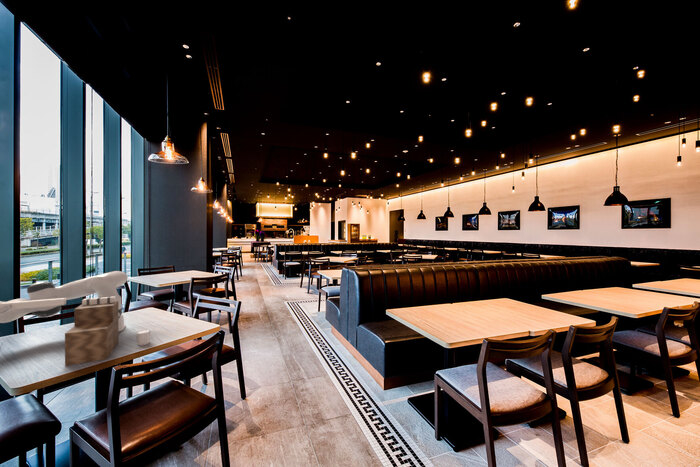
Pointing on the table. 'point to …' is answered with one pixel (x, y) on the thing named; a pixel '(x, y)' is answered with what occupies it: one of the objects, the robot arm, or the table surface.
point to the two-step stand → (92, 333)
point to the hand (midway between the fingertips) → (13, 304)
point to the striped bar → (98, 300)
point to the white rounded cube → (143, 337)
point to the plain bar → (35, 303)
